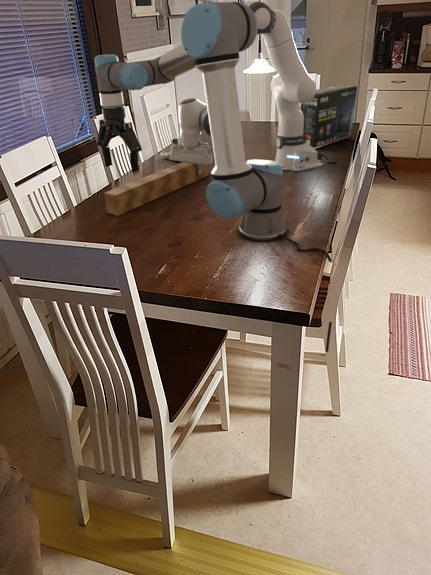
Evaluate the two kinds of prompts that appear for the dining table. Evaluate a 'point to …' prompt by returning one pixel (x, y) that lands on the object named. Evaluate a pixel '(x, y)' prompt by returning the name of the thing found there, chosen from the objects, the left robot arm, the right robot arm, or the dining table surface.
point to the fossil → (166, 155)
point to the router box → (329, 114)
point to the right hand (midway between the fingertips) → (192, 173)
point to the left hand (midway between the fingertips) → (121, 168)
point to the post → (152, 187)
